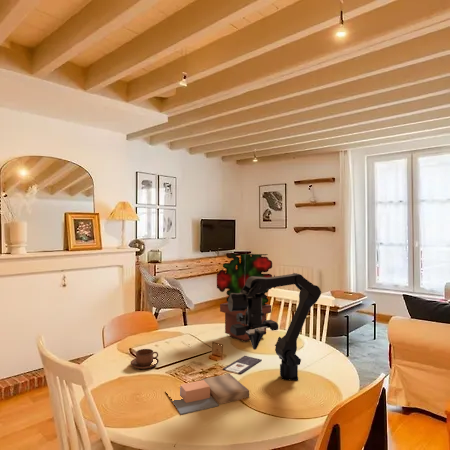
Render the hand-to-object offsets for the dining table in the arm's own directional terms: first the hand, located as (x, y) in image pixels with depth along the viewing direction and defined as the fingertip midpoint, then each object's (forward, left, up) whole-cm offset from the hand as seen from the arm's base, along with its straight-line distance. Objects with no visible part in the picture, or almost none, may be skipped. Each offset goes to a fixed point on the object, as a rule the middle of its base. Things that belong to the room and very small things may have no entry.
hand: (254, 349), depth 146 cm
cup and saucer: (+48, -13, -13) cm, 52 cm away
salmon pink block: (+17, +12, -11) cm, 24 cm away
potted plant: (+5, -56, -13) cm, 58 cm away
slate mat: (+23, +15, -13) cm, 30 cm away
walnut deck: (+11, +8, -13) cm, 19 cm away
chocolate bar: (+5, -17, -14) cm, 23 cm away
